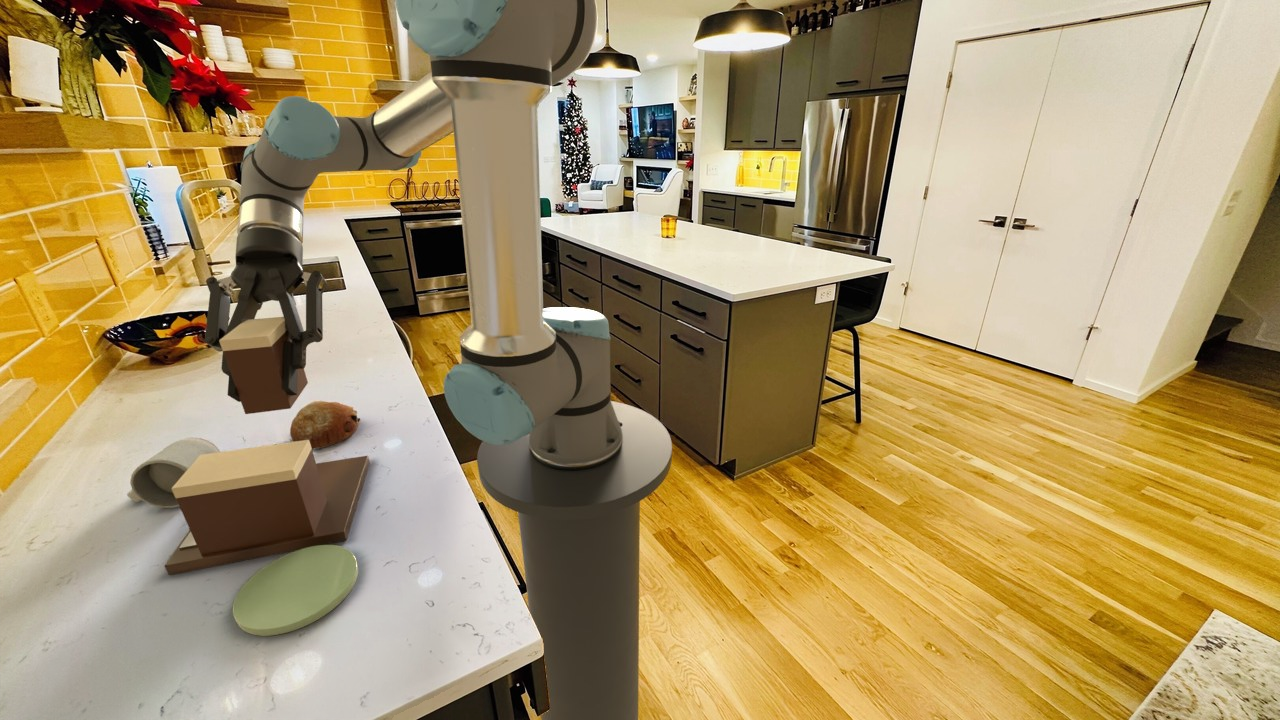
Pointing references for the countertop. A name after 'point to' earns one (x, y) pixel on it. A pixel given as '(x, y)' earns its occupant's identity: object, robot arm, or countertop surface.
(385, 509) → the countertop surface
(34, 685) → the countertop surface
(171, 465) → the ceramic mug
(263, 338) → the cake slice
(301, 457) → the cake
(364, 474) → the cake board
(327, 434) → the bread roll
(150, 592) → the countertop surface
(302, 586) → the plate
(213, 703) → the countertop surface
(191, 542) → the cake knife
